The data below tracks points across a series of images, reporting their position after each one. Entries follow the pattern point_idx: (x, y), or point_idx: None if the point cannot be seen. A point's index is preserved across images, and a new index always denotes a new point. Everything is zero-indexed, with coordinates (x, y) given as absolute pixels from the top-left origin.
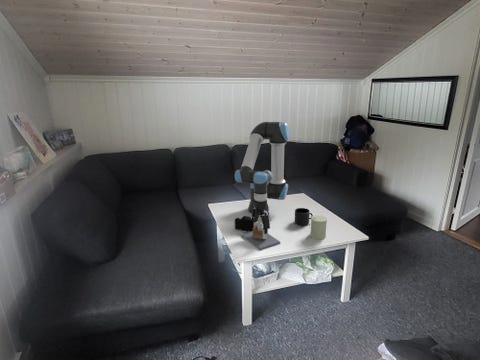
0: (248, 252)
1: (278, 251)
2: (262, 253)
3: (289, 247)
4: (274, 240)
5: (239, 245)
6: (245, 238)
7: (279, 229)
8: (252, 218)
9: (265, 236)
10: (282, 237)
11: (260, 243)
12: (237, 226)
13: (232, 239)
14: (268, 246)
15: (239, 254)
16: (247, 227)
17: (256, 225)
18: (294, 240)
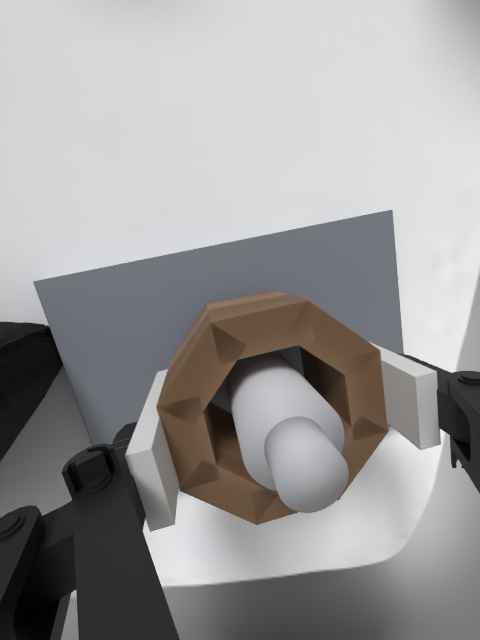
0: (383, 493)
1: (470, 289)
2: None
3: (467, 168)
4: (350, 253)
5: (270, 532)
6: None
7: (91, 39)
8: (58, 636)
9: None
10: (288, 124)
11: None
12: None
13: (158, 566)
14: (397, 342)
15: (378, 549)
16: (2, 444)
17: (176, 450)
18: (391, 35)
